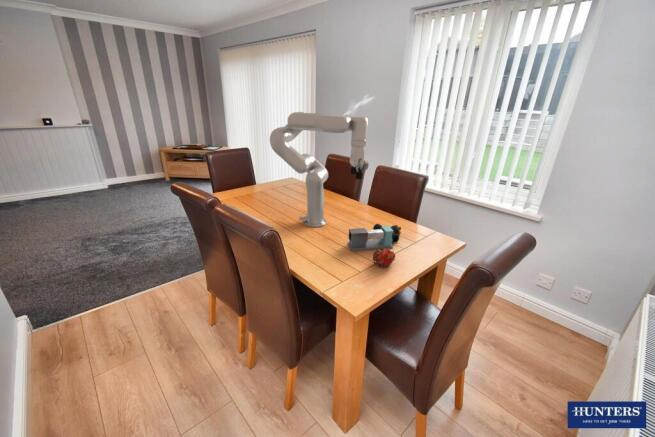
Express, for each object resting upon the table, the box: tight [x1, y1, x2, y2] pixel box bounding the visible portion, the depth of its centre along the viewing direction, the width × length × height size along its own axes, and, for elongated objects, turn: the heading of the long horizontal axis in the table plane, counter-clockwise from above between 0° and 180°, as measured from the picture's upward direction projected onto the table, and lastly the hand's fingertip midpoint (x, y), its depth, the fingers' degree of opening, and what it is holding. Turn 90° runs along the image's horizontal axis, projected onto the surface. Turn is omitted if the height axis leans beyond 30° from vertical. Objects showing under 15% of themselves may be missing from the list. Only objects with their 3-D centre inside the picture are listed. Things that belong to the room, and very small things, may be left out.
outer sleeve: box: [348, 227, 368, 248], centre depth 134 cm, size 8×5×8 cm, turn 101°
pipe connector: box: [372, 223, 402, 244], centre depth 147 cm, size 12×5×15 cm
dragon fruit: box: [372, 248, 396, 268], centre depth 121 cm, size 8×8×12 cm
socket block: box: [380, 225, 394, 246], centre depth 136 cm, size 4×6×8 cm, turn 11°
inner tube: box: [366, 229, 385, 240], centre depth 135 cm, size 15×4×4 cm, turn 101°
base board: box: [346, 239, 394, 253], centre depth 137 cm, size 21×8×1 cm, turn 101°
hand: (355, 176), depth 144 cm, fingers open, 9 cm apart
